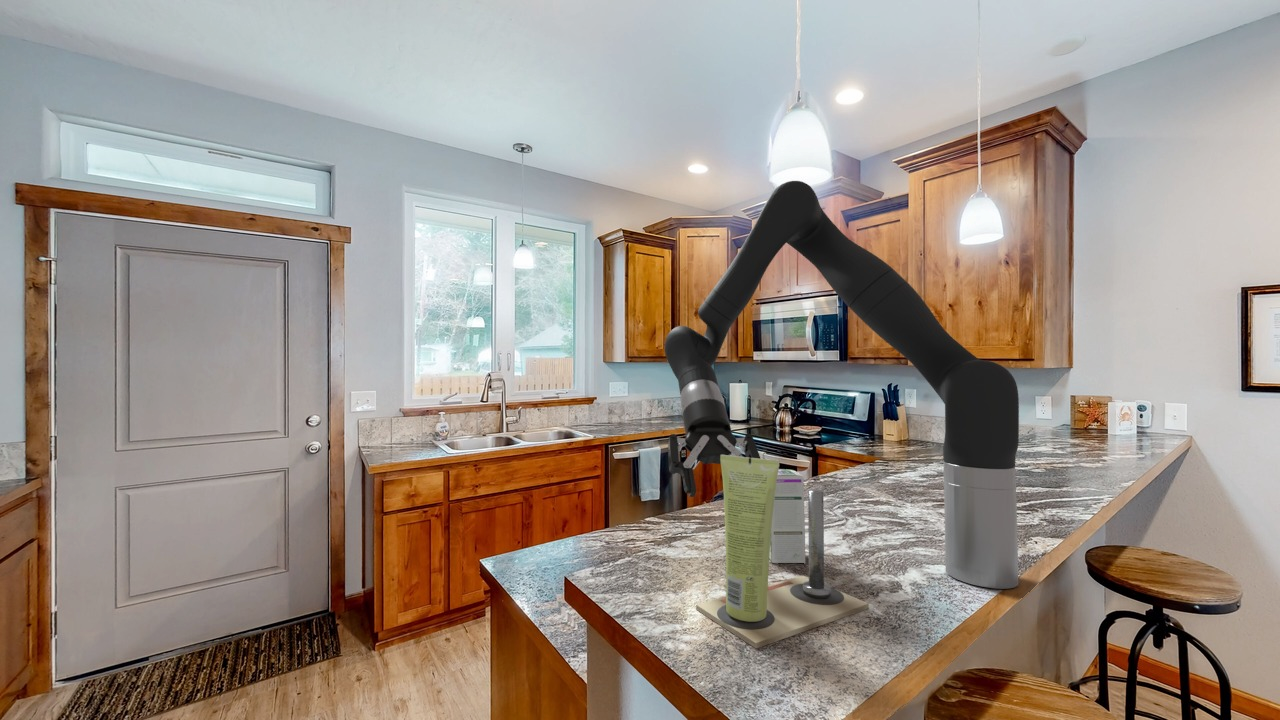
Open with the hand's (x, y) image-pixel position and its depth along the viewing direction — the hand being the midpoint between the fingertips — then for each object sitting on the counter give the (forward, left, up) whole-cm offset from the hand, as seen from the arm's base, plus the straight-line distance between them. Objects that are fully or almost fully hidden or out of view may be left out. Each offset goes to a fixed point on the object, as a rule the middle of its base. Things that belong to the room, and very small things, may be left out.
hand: (721, 494), depth 74 cm
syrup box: (-16, -3, -13) cm, 21 cm away
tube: (+5, +11, -13) cm, 17 cm away
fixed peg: (-8, +10, -13) cm, 19 cm away
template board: (-2, +10, -13) cm, 17 cm away
